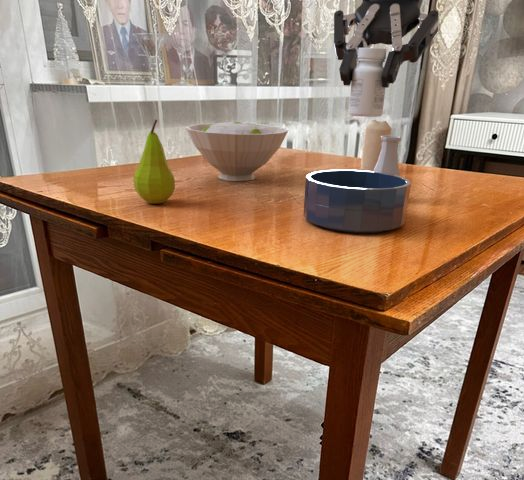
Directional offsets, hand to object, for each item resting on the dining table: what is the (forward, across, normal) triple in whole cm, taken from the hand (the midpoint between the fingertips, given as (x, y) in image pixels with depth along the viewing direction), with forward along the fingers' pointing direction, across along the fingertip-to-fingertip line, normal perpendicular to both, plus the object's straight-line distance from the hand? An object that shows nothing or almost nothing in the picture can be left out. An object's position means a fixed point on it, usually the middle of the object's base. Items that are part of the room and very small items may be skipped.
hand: (365, 81), depth 67 cm
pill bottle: (+2, 0, +4) cm, 5 cm away
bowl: (-3, -30, +29) cm, 42 cm away
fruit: (+15, -30, +11) cm, 36 cm away
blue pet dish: (+12, 0, +14) cm, 18 cm away
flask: (0, 0, +26) cm, 26 cm away
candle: (-20, -9, +46) cm, 52 cm away
